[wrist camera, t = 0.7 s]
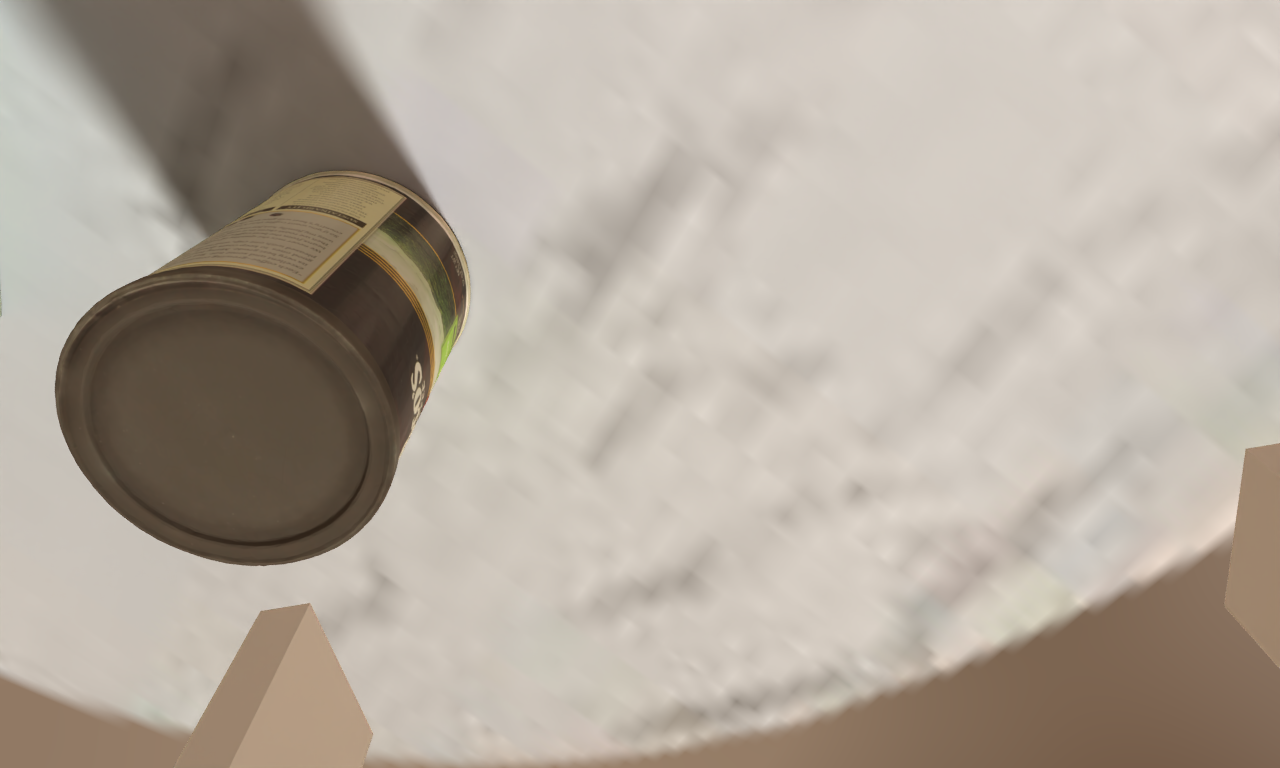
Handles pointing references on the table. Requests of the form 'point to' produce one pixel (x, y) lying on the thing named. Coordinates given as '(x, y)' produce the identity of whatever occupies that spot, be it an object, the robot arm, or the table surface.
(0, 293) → the socket
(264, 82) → the table surface
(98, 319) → the coffee can
